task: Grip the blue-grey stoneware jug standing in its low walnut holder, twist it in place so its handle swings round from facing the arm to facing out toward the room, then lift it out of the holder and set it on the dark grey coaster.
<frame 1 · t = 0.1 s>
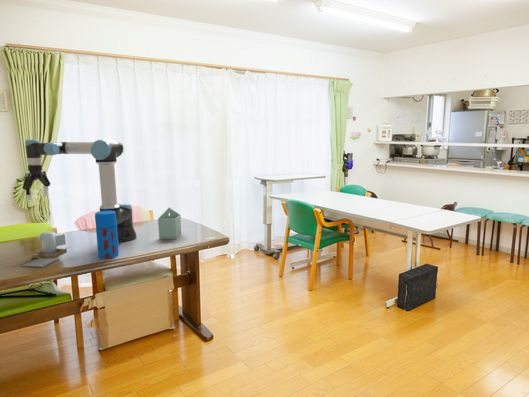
hand: (38, 198, 237), 28 cm above the table, tool pointing down, fingers open, 13 cm apart
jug: (50, 255, 214), resting in holder
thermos: (108, 256, 212), on the table
holder: (50, 254, 214), on the table
coaster: (40, 263, 200), on the table
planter: (173, 237, 248), on the table
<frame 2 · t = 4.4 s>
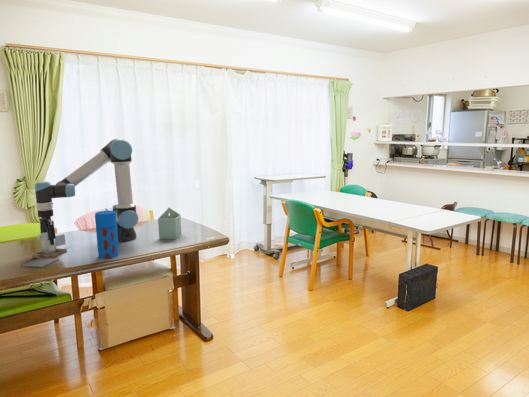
hand: (49, 248, 213), 4 cm above the table, tool pointing down, fingers closed on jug, 7 cm apart
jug: (50, 255, 214), resting in holder, touching gripper
everything else where it was.
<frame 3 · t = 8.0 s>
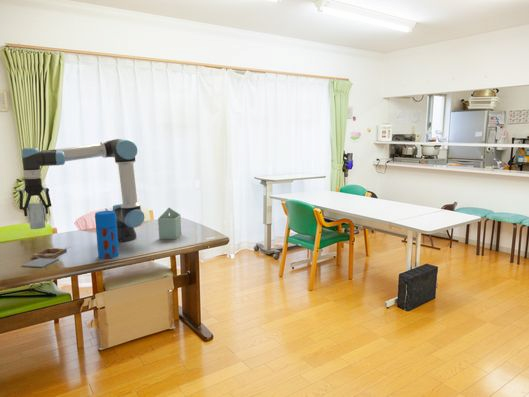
hand: (37, 220, 199), 23 cm above the table, tool pointing down, fingers closed on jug, 7 cm apart
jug: (37, 227, 199), point 19 cm above the table, touching gripper
everything else where it was.
when the fingers open (5 cm above the table, at t = 11.9 s): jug stays where it is, resting on coaster.
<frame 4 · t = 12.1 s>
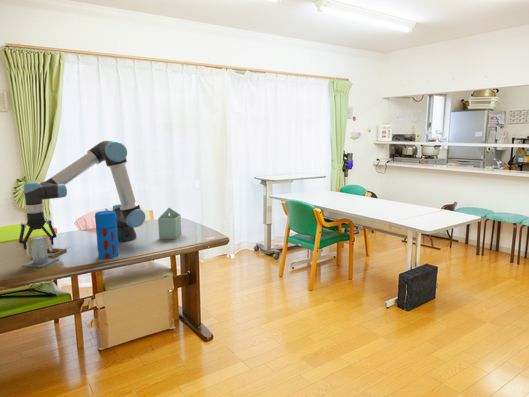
hand: (39, 252, 199), 6 cm above the table, tool pointing down, fingers open, 10 cm apart
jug: (40, 261, 200), point 1 cm above the table, touching coaster
everything else where it was.
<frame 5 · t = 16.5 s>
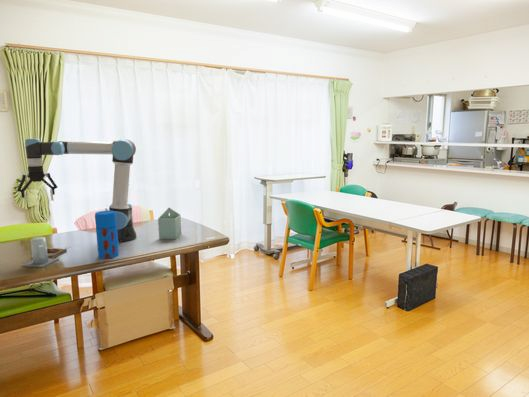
hand: (39, 201, 220), 29 cm above the table, tool pointing down, fingers open, 13 cm apart
nothing on the table moved.
at the end: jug inside the target area on the coaster (0.1 cm from its centre), point 0.6 cm above the coaster's base; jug tilted 1°; the gripper is holding nothing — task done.
